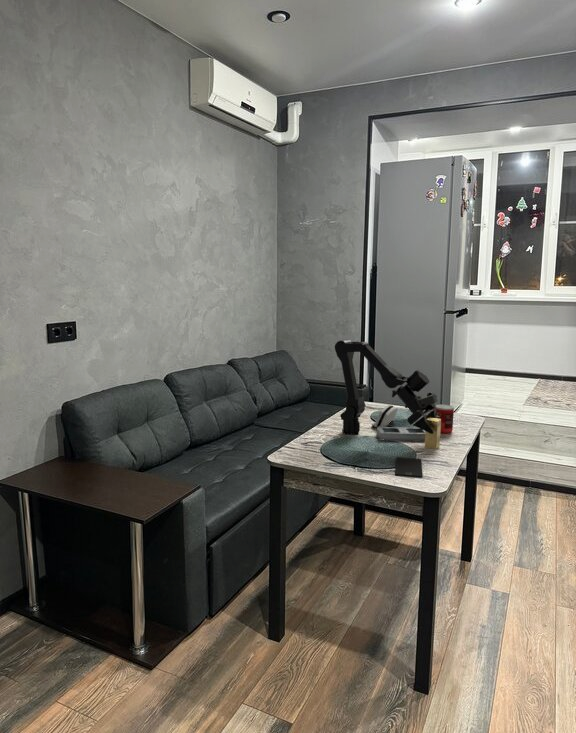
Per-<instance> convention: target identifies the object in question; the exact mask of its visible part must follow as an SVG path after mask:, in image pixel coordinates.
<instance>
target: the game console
mask: <svg viewBox="0 0 576 733" xmlns="http://www.w3.org/2000/svg"><path fill="white" fill-rule="evenodd" d="M397 413H398V408H397V407H396V406H394V405H392V404H386V405H385V407H383V408H382V409H381V411H380V412H379V414H378V416H377V418H376V420H375V422H373V423H372V424H371V426H370V428H371V429H372V428H373V427H375V428H377V427H388V426H389V425H390V424H391V423H392V422H391V421H392V420H393V419H394V420H395V418H396V415H397ZM394 420H393V421H394ZM390 422H391V423H390ZM389 423H390V424H389Z"/></svg>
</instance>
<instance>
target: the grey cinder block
mask: <svg viewBox="0 0 576 733" xmlns="http://www.w3.org/2000/svg"><path fill="white" fill-rule="evenodd" d="M376 436H377V437H378V438H380V439H384V440H383V441H389V440H393V442H394V441H399V442H400V441H402V442H405V441H406V442H425V431H424V430H422V429H420V428H418V427H402V426H401V427H397V426H396V427H393V426H391V427H388V426H386V427H379V426H378V427H376ZM380 439H379V440H380Z"/></svg>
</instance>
